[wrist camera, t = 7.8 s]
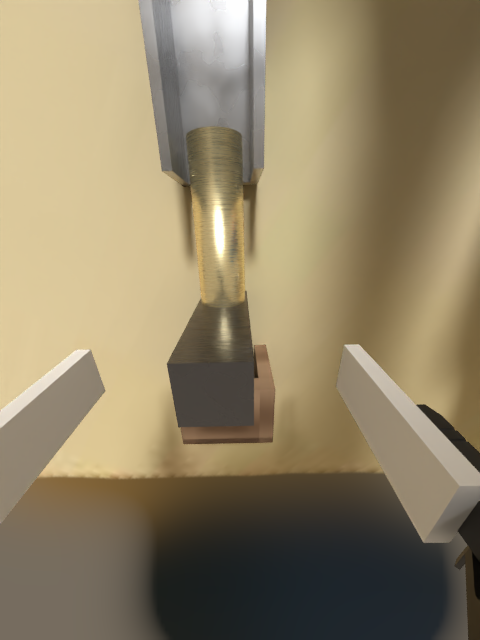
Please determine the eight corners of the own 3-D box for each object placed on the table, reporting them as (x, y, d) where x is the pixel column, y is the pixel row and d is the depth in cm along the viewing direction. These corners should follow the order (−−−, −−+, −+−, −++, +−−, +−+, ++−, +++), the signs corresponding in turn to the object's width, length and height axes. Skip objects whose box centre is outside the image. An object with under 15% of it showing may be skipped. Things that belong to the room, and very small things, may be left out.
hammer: (191, 151, 17) (103, 14, 6) (244, 150, 17) (253, 10, 6) (212, 384, 26) (192, 505, 15) (247, 383, 26) (253, 504, 15)
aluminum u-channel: (164, 6, 14) (122, -115, 9) (257, 2, 14) (267, -120, 9) (183, 186, 18) (161, 171, 13) (256, 184, 18) (263, 168, 13)
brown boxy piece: (191, 346, 24) (174, 391, 18) (265, 344, 24) (275, 388, 18) (197, 390, 26) (183, 444, 20) (264, 389, 26) (272, 442, 20)
